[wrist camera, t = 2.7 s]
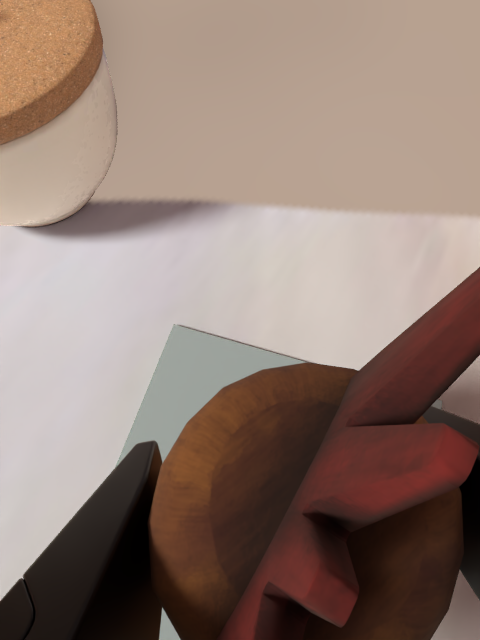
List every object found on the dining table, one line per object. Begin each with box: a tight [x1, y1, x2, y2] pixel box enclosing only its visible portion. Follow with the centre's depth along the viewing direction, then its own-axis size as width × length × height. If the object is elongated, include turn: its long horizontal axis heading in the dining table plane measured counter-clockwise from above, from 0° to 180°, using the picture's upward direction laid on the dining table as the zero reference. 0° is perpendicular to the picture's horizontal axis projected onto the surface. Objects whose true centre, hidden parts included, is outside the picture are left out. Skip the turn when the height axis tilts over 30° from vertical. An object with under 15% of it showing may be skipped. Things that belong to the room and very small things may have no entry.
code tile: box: [115, 324, 442, 640], centre depth 15 cm, size 12×12×1 cm
